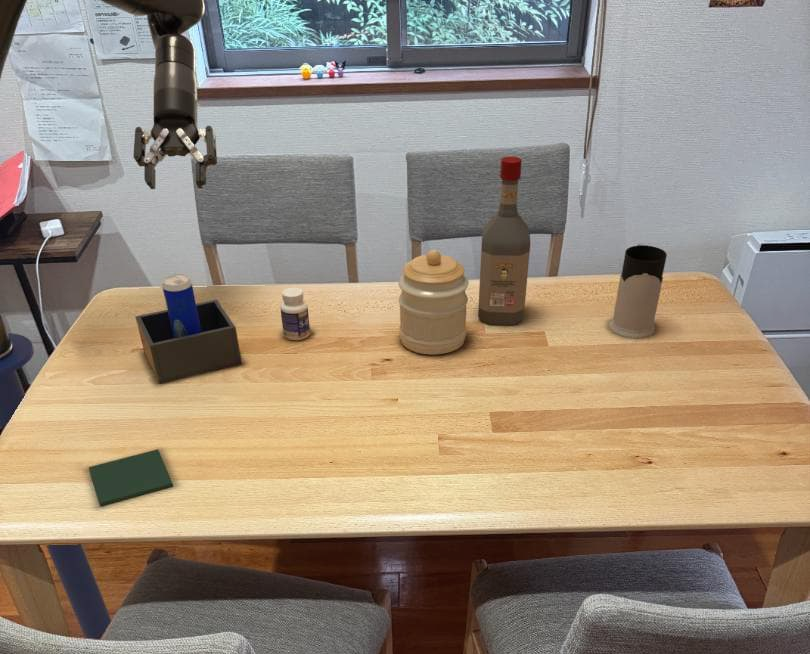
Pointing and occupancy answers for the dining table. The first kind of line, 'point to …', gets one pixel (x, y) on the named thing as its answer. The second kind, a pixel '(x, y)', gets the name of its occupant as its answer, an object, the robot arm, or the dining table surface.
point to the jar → (433, 304)
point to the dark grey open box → (189, 343)
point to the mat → (130, 477)
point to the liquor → (505, 255)
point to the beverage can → (181, 305)
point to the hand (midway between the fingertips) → (175, 186)
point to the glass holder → (638, 291)
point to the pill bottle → (294, 314)
